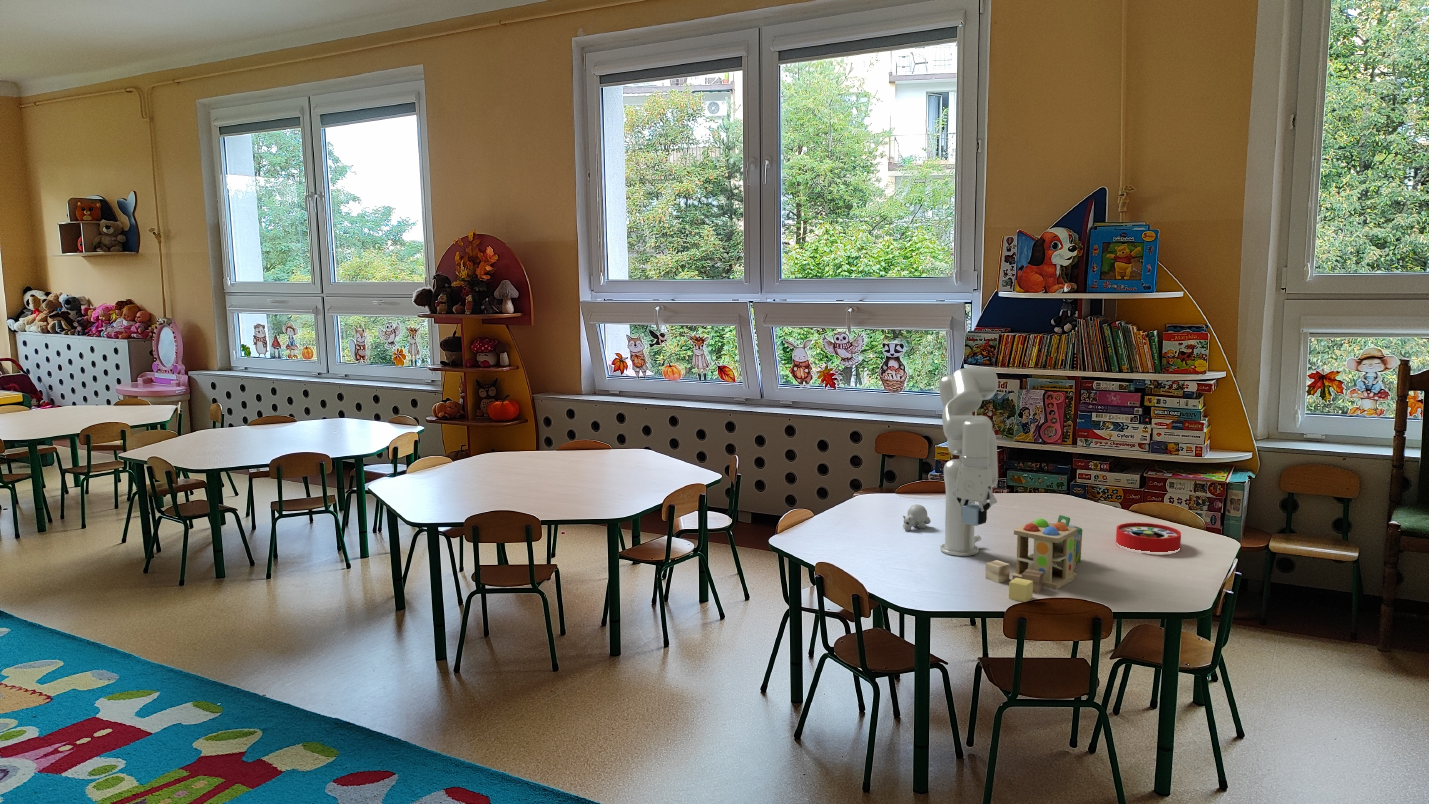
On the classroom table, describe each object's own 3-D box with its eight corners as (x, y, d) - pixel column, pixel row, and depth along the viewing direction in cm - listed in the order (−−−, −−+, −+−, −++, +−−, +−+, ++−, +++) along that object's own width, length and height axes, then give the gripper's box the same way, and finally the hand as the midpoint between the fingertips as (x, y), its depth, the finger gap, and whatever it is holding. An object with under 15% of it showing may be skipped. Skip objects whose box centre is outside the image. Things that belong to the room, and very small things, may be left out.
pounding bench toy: (1044, 562, 302) (1046, 508, 300) (1088, 571, 292) (1090, 516, 290) (1011, 579, 286) (1012, 523, 283) (1056, 590, 276) (1058, 531, 274)
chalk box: (1039, 558, 305) (1040, 515, 303) (1060, 555, 309) (1062, 511, 307) (1060, 566, 297) (1062, 521, 295) (1082, 562, 301) (1083, 518, 299)
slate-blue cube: (971, 519, 281) (972, 503, 280) (985, 522, 277) (986, 506, 276) (961, 522, 278) (962, 506, 277) (976, 525, 274) (976, 509, 273)
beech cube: (996, 575, 290) (996, 560, 289) (1009, 579, 286) (1009, 564, 285) (985, 578, 287) (985, 563, 287) (998, 583, 283) (998, 567, 282)
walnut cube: (1026, 585, 281) (1027, 569, 280) (1043, 588, 278) (1044, 571, 277) (1021, 589, 277) (1021, 573, 276) (1038, 592, 274) (1038, 576, 273)
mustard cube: (1015, 594, 273) (1016, 577, 273) (1032, 597, 270) (1032, 581, 269) (1008, 598, 270) (1009, 582, 269) (1025, 602, 266) (1026, 585, 266)
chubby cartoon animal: (899, 535, 345) (892, 515, 342) (919, 518, 350) (913, 499, 348) (913, 539, 339) (907, 519, 336) (934, 522, 344) (928, 502, 342)
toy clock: (1178, 541, 303) (1112, 533, 313) (1177, 559, 303) (1111, 550, 313) (1183, 526, 320) (1120, 519, 330) (1182, 543, 321) (1119, 535, 331)
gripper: (943, 459, 279) (942, 518, 281) (992, 467, 266) (991, 529, 268) (958, 455, 283) (957, 513, 286) (1007, 464, 271) (1006, 524, 273)
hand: (973, 520), depth 277 cm, fingers closed on slate-blue cube, 4 cm apart
